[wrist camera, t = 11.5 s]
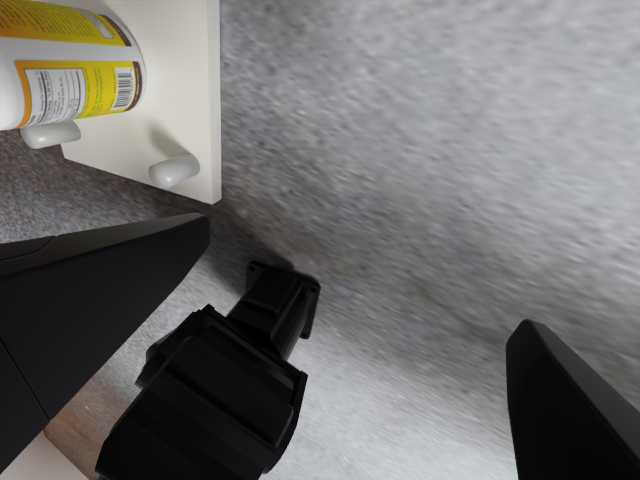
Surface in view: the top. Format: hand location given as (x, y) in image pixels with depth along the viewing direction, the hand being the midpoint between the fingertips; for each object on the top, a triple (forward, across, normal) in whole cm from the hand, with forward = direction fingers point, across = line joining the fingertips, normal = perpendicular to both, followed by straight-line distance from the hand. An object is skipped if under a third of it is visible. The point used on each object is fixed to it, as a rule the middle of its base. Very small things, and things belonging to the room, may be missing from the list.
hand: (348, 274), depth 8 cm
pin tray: (+12, +19, -2) cm, 22 cm away
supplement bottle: (+11, +19, -2) cm, 22 cm away
